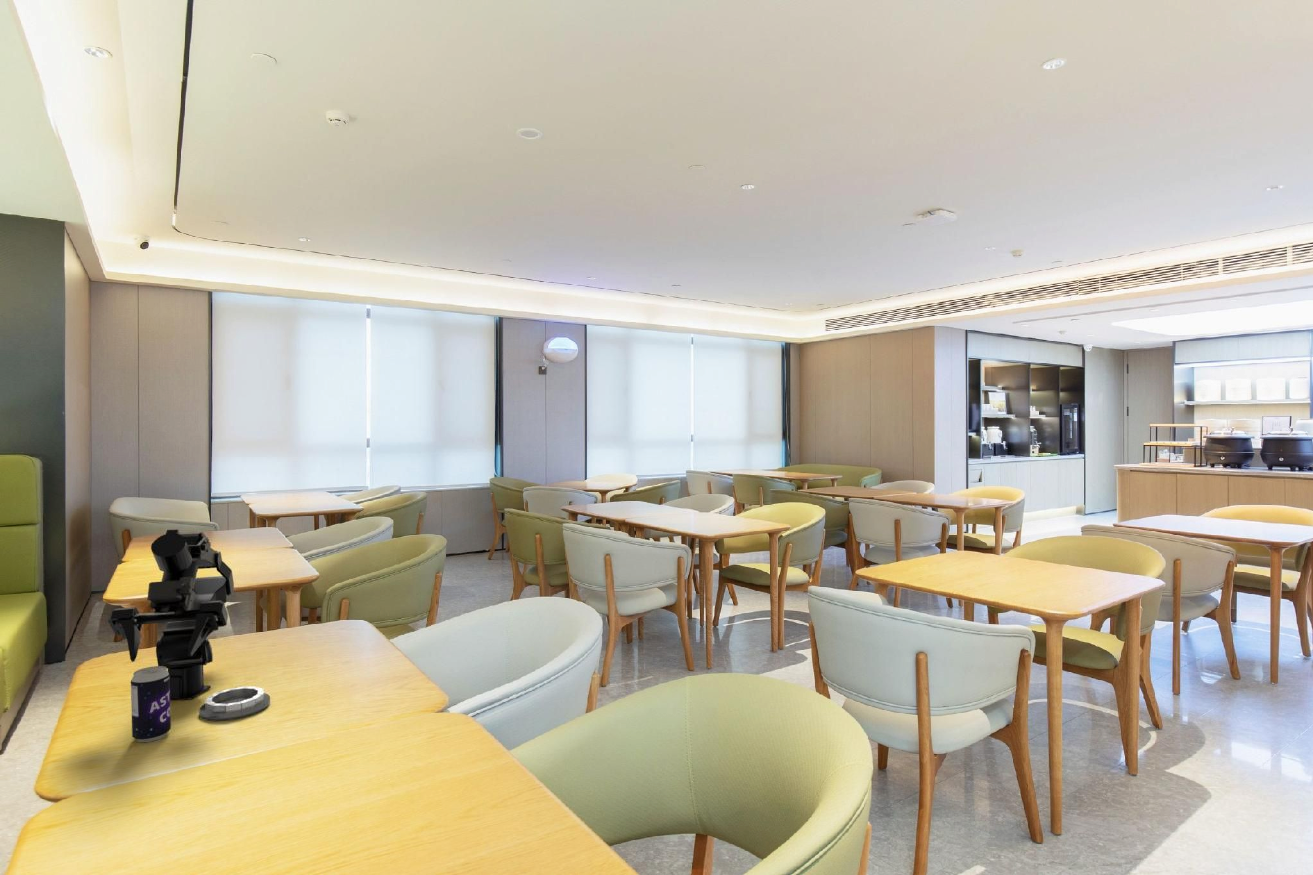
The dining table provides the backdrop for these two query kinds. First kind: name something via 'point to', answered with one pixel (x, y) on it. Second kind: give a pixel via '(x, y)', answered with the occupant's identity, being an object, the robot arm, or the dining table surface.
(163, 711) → the beverage can
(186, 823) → the dining table surface
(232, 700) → the collar base
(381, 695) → the dining table surface
